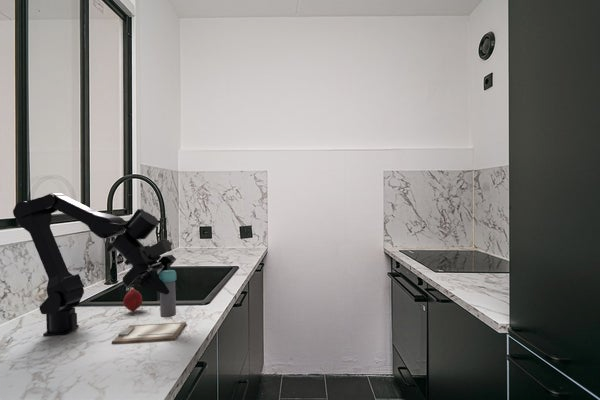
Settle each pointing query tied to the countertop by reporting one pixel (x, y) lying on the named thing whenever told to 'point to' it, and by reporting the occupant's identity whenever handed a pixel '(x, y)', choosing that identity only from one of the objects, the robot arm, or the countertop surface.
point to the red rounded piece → (132, 300)
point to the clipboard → (149, 333)
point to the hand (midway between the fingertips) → (172, 291)
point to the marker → (170, 299)
